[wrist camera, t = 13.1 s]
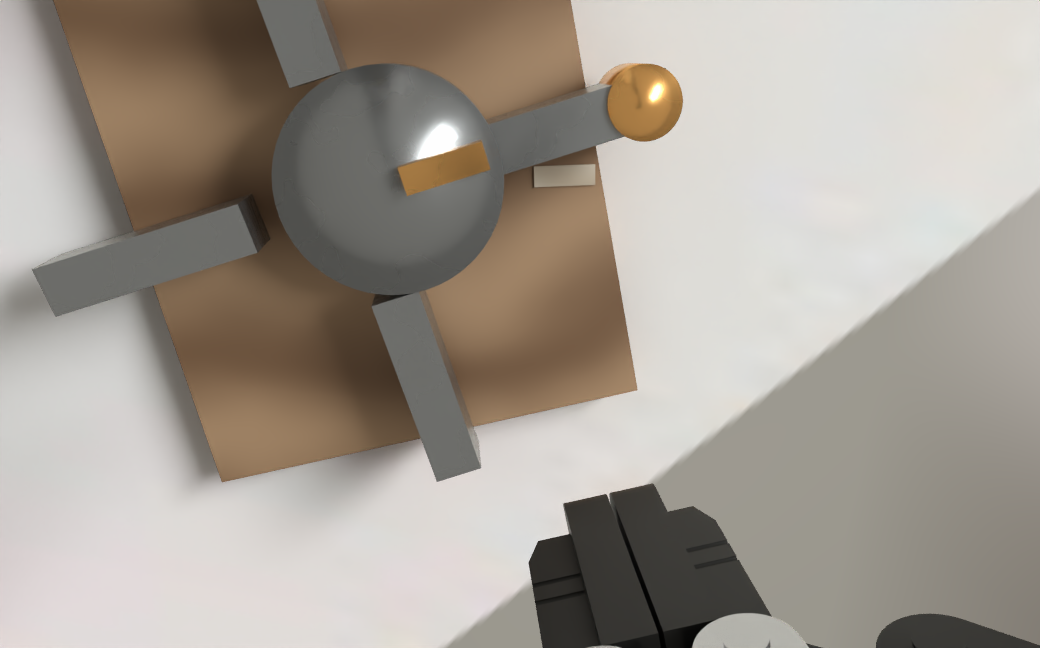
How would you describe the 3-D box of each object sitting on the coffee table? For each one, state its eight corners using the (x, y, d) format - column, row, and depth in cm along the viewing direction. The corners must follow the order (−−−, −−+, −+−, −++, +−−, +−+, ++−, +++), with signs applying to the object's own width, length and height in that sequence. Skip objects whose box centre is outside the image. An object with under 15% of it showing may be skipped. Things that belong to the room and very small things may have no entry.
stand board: (46, -72, 31) (21, -80, 29) (533, -174, 31) (539, -188, 29) (231, 464, 38) (220, 485, 36) (629, 376, 38) (638, 392, 36)
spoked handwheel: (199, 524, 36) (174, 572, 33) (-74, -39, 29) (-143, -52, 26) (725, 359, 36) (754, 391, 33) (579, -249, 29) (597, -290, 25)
